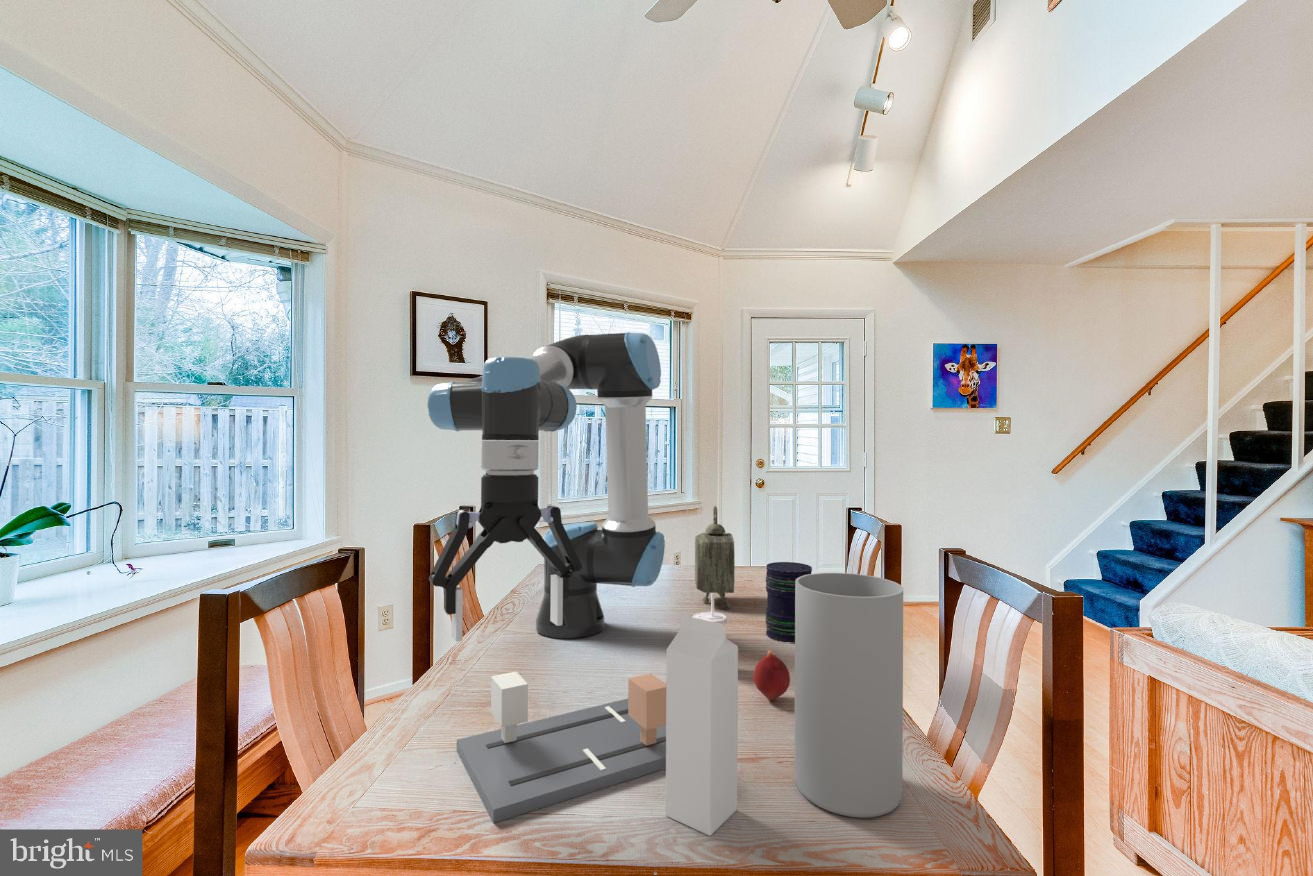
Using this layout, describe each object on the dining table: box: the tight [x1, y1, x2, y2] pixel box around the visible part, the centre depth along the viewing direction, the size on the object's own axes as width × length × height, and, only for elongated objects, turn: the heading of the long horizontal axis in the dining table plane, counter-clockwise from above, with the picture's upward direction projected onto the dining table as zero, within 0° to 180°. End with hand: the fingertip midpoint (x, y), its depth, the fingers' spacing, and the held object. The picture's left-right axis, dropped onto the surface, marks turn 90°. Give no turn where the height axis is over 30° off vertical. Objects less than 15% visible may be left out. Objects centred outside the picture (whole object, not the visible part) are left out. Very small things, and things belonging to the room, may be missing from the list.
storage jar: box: [765, 561, 813, 644], centre depth 132 cm, size 10×10×15 cm
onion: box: [752, 650, 791, 701], centre depth 100 cm, size 6×6×8 cm
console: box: [456, 698, 666, 824], centre depth 82 cm, size 18×28×2 cm, turn 121°
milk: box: [665, 615, 739, 837], centre depth 70 cm, size 6×6×22 cm
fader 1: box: [490, 671, 529, 743], centre depth 83 cm, size 5×4×8 cm
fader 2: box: [627, 673, 666, 746], centre depth 82 cm, size 5×4×8 cm
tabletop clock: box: [694, 505, 736, 610], centre depth 158 cm, size 14×9×25 cm, turn 179°
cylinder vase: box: [793, 572, 904, 819], centre depth 74 cm, size 12×12×25 cm
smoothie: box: [692, 593, 728, 626], centre depth 113 cm, size 6×6×14 cm
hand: (508, 630), depth 82 cm, fingers open, 13 cm apart
